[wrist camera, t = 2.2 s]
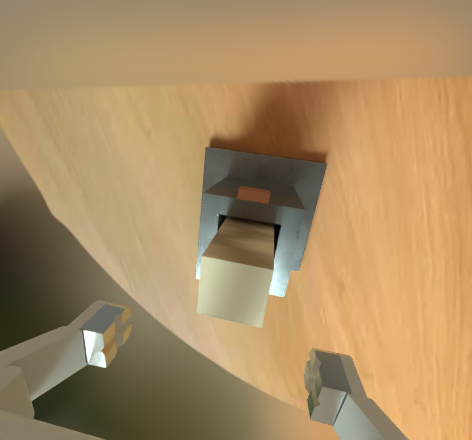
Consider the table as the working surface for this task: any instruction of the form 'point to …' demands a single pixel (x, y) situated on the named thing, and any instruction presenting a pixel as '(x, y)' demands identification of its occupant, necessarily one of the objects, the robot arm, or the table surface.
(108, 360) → the robot arm
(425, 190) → the table surface
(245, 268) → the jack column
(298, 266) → the jack sleeve
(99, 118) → the table surface
